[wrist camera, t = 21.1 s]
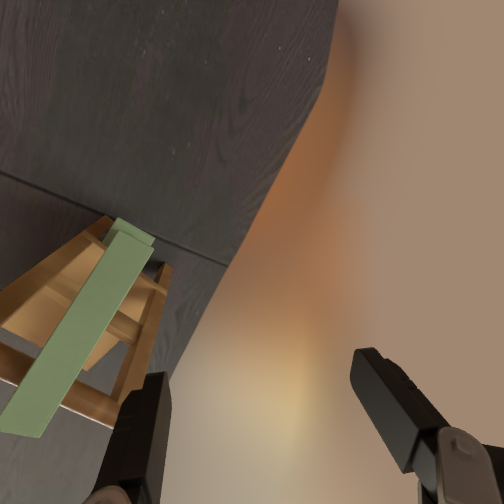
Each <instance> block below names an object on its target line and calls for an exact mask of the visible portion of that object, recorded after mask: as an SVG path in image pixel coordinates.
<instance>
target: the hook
mask: <svg viewBox="0 0 504 504" xmlns="http://www.w3.org/2000/svg"><path fill="white" fill-rule="evenodd" d="M154 240H155V238H154V237H152V236H151V235H149V234H147V233H145V232H143V231H142V230H140V229H138V228H136V227H135V226H133V225H131V224H129V223H127V222H126V221H124V220H122V219H120V218H117V219H116V221H115V222H114V224H113V225H112V227H111V228H110V230H109V231H108V233H107V235H106V236H105V238H104V239H103V241H102V243H103V244H104V245H106V246H107V249H106V250H105V252H104V253H103V255H102V257H101V258H100V260H99V261H98V263H97V264H96V266H95V267H94V269H93V271H92V272H91V274H90V275H89V277H88V278H87V280H86V281H85V283H84V284H83V286H82V288H81V289H80V291H79V292H78V294H77V295H76V297H75V298H74V300H73V302H72V303H71V305H70V306H69V308H68V309H67V311H66V312H65V314H64V316H63V317H62V319H61V320H60V322H59V323H58V325H57V326H56V328H55V330H54V331H53V333H52V334H51V336H50V337H49V339H48V340H47V342H46V344H45V345H44V347H43V348H42V350H41V351H40V353H39V354H38V356H37V358H36V359H35V361H34V362H33V364H32V365H31V367H30V368H29V370H28V372H27V373H26V375H25V376H24V378H23V379H22V381H21V382H20V384H19V386H18V387H17V389H16V390H15V392H14V393H13V395H12V396H11V398H10V400H9V401H8V403H7V404H6V406H5V407H4V409H3V410H2V412H1V413H0V431H1V432H6V433H12V434H17V435H22V436H27V437H33V438H39V437H40V436H41V435H42V433H43V431H44V430H45V428H46V426H47V425H48V423H49V421H50V420H51V418H52V417H53V415H54V413H55V412H56V410H57V408H58V407H59V405H60V403H61V402H62V400H63V398H64V397H65V395H66V394H67V392H68V390H69V389H70V387H71V385H72V384H73V382H74V380H75V379H76V377H77V375H78V374H79V372H80V371H81V369H82V367H83V366H84V364H85V362H86V361H87V359H88V357H89V356H90V354H91V352H92V351H93V349H94V348H95V346H96V344H97V343H98V341H99V339H100V338H101V336H102V334H103V333H104V331H105V329H106V328H107V326H108V325H109V323H110V321H111V320H112V318H113V316H114V315H115V313H116V311H117V310H118V308H119V306H120V305H121V303H122V302H123V300H124V298H125V297H126V295H127V293H128V292H129V290H130V288H131V287H132V285H133V284H134V282H135V280H136V279H137V277H138V275H139V274H140V272H141V270H142V269H143V267H144V265H145V264H146V262H147V261H148V259H149V257H150V256H151V254H152V252H153V251H154V248H152V247H150V246H151V245H152V243H153V242H154Z"/></svg>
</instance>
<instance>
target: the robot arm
mask: <svg viewBox="0 0 504 504" xmlns="http://www.w3.org/2000/svg"><path fill="white" fill-rule="evenodd" d="M350 381H351V385H352V388H353V390H354V392H355V394H356V395H357V397H358V399H359V400H360V402H361V404H362V405H363V407H364V409H365V411H366V412H367V414H368V416H369V417H370V419H371V421H372V422H373V424H374V426H375V427H376V429H377V431H378V433H379V434H380V436H381V438H382V439H383V441H384V443H385V444H386V446H387V448H388V449H389V451H390V453H391V455H392V456H393V458H394V460H395V461H396V463H397V465H398V467H399V468H400V470H401V472H402V473H403V474H405V473H410V472H415V473H416V475H417V477H418V478H419V481H418V504H504V448H501V447H496V446H490V445H484V444H481V443H480V442H479V441H478V440H477V439H475V438H474V437H473V436H472V435H470V434H468V433H467V432H465V431H463V430H461V429H458V428H455V427H451V426H450V425H449V423H448V422H447V421H446V420H445V419H444V418H443V416H442V415H441V414H440V413H439V412H438V411H437V409H436V408H435V407H434V406H433V405H432V404H431V403H430V401H429V400H428V399H427V398H426V397H425V396H424V394H423V393H422V392H421V391H420V390H419V389H417V386H416V385H415V384H414V383H413V382H412V380H410V379H409V377H408V376H407V375H406V373H405V372H404V371H403V370H402V369H401V367H399V366H398V365H397V364H395V363H393V362H392V361H391V360H389V359H384V358H383V357H382V356H381V355H380V353H379V352H378V351H377V350H376V349H375V348H373V347H370V348H362V349H356V350H355V351H354V356H353V361H352V367H351V372H350ZM171 410H172V402H171V394H170V388H169V382H168V376H167V372H166V371H165V372H157V373H149V374H146V376H145V379H144V383H143V387H142V389H139V390H131V392H130V393H129V394H128V396H127V397H126V398H125V400H124V401H123V402H122V404H121V407H120V410H119V413H118V416H117V421H116V422H115V425H114V428H113V434H112V435H111V438H110V441H109V444H108V447H107V450H106V453H105V456H104V459H103V462H102V465H101V468H100V471H99V474H98V478H97V481H96V483H95V486H94V488H93V490H92V492H91V494H90V495H89V497H88V498H87V499H86V500H85V501H84V502H83V503H82V504H160V497H161V489H162V481H163V473H164V466H165V458H166V451H167V442H168V435H169V427H170V420H171Z"/></svg>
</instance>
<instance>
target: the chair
mask: <svg viewBox="0 0 504 504" xmlns="http://www.w3.org/2000/svg"><path fill="white" fill-rule="evenodd" d="M113 224H114V221H113V220H111V219H110V218H109V217H108V216H106V215H105V216H103V217H102V218H100V219H99V220H98V221H96V222H95V223H93V224H92V225H91V226H89V227H88V228H87V229H85V230H84V231H82V232H81V233H80V234H78V235H77V236H75V237H74V238H73V239H71V240H70V241H68V242H67V243H66V244H64V245H63V246H62V247H60V248H59V249H57V250H56V251H55V252H53V253H52V254H50V255H49V256H48V257H46V258H45V259H43V260H42V261H41V262H39V263H38V264H37V265H35V266H34V267H32V268H31V269H30V270H28V271H27V272H25V273H24V274H23V275H21V276H20V277H18V278H17V279H16V280H14V281H13V282H12V283H10V284H9V285H7V286H6V287H5V288H3V289H2V290H0V327H3V328H5V329H7V330H9V331H11V332H13V333H15V334H17V335H19V336H20V337H22V338H24V339H26V340H28V341H30V342H32V343H34V344H36V345H38V346H40V347H42V348H43V347H44V345H45V344H46V342H47V340H48V339H49V337H50V336H51V334H52V333H53V331H54V330H55V328H56V326H57V325H58V323H59V322H60V320H61V319H62V317H63V316H64V314H65V312H66V311H67V309H68V308H69V306H70V305H71V303H72V302H73V300H74V298H75V297H76V295H77V294H78V292H79V291H80V289H81V288H82V286H83V284H84V283H85V281H86V280H87V278H88V277H89V275H90V274H91V272H92V271H93V269H94V267H95V266H96V264H97V263H98V261H99V260H100V258H101V257H102V255H103V253H104V252H105V250H106V249H107V246H106V245H104V244H103V243H102V242H100V241H99V240H98V239H99V238H100V237H101V236H102V235H104V234H105V233H106V232H107V231H108V230H109V229H110V228H111V227H112V225H113ZM172 273H173V268H172V267H171V266H170V265H168V264H167V263H166V262H165V263H164V264H163V265H162V266H161V267H160V268H159V269H158V272H157V275H156V277H155V280H154V281H153V280H152V279H150V278H149V277H148V276H146V275H145V274H144V273H142V272H140V274H139V275H138V277H137V279H136V280H135V282H134V284H133V285H132V287H131V288H130V290H129V292H128V293H127V295H126V297H125V298H124V300H123V302H122V303H121V305H120V306H119V308H118V310H117V311H116V313H115V315H114V316H113V318H112V320H111V321H110V323H109V325H108V326H107V328H106V329H105V331H104V333H103V334H102V336H101V338H100V339H99V341H98V343H97V344H96V346H95V348H94V349H93V351H92V352H91V354H90V356H89V357H88V359H87V361H86V362H85V364H84V366H83V367H82V369H84V370H86V371H88V370H89V369H90V368H91V367H92V366H93V365H94V364H95V363H96V362H97V361H98V360H99V359H100V358H101V357H102V356H103V355H104V354H106V353H107V352H108V351H109V350H110V349H111V348H112V347H113V346H114V345H115V344H116V343H117V342H118V341H119V340H122V341H123V342H125V343H127V344H128V345H130V346H129V348H128V351H127V354H126V356H125V359H124V361H123V364H122V367H121V369H120V372H119V375H118V377H117V380H116V382H115V385H114V388H113V390H112V393H111V396H109V395H107V394H105V393H103V392H101V391H99V390H97V389H95V388H93V387H91V386H89V385H87V384H85V383H83V382H81V381H79V380H77V379H75V380H74V382H73V384H72V385H71V387H70V389H69V390H68V392H67V394H66V395H65V397H64V398H63V400H62V402H61V403H60V405H59V406H62V407H64V408H66V409H68V410H71V411H73V412H75V413H77V414H80V415H82V416H84V417H86V418H89V419H91V420H93V421H95V422H98V423H100V424H102V425H104V426H107V427H109V428H111V429H113V428H114V425H115V422H116V421H117V416H118V413H119V410H120V407H121V404H122V402H123V401H124V400H125V398H126V397H127V396H128V394H129V393H130V392H131V390H139V389H142V386H143V382H144V379H145V375H146V371H147V367H148V364H149V360H150V356H151V352H152V348H153V345H154V341H155V337H156V333H157V329H158V326H159V322H160V318H161V314H162V310H163V307H164V303H165V299H166V295H167V291H168V288H169V284H170V280H171V276H172ZM34 361H35V359H34V358H32V357H30V356H28V355H26V354H24V353H22V352H20V351H18V350H16V349H14V348H12V347H10V346H8V345H6V344H4V343H2V342H0V379H1V380H3V381H6V382H8V383H10V384H12V385H15V386H17V387H18V386H19V384H20V382H21V381H22V379H23V378H24V376H25V375H26V373H27V372H28V370H29V368H30V367H31V365H32V364H33V362H34Z"/></svg>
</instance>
